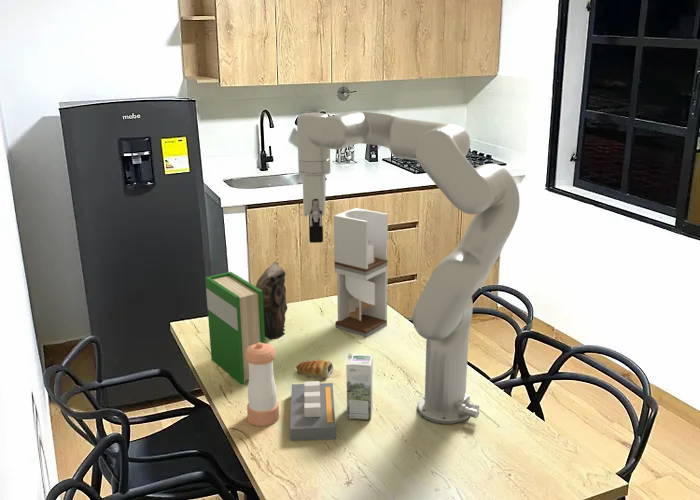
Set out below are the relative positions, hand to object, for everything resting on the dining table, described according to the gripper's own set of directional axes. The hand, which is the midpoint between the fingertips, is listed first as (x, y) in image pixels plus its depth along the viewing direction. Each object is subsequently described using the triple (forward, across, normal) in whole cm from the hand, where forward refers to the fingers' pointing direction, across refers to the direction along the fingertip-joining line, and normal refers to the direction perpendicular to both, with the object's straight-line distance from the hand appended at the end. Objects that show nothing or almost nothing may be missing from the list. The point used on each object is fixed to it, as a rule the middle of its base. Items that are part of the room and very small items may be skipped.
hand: (316, 236), depth 173 cm
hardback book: (+39, -7, -21) cm, 45 cm away
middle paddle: (+35, +18, -2) cm, 40 cm away
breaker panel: (+38, +18, -2) cm, 43 cm away
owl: (+38, -31, -15) cm, 52 cm away
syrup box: (+38, +18, +9) cm, 44 cm away
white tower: (+38, -31, +13) cm, 51 cm away
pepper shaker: (+38, +18, -13) cm, 45 cm away
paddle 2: (+35, +24, -2) cm, 42 cm away
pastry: (+39, -2, -1) cm, 39 cm away
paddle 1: (+35, +14, -2) cm, 38 cm away
